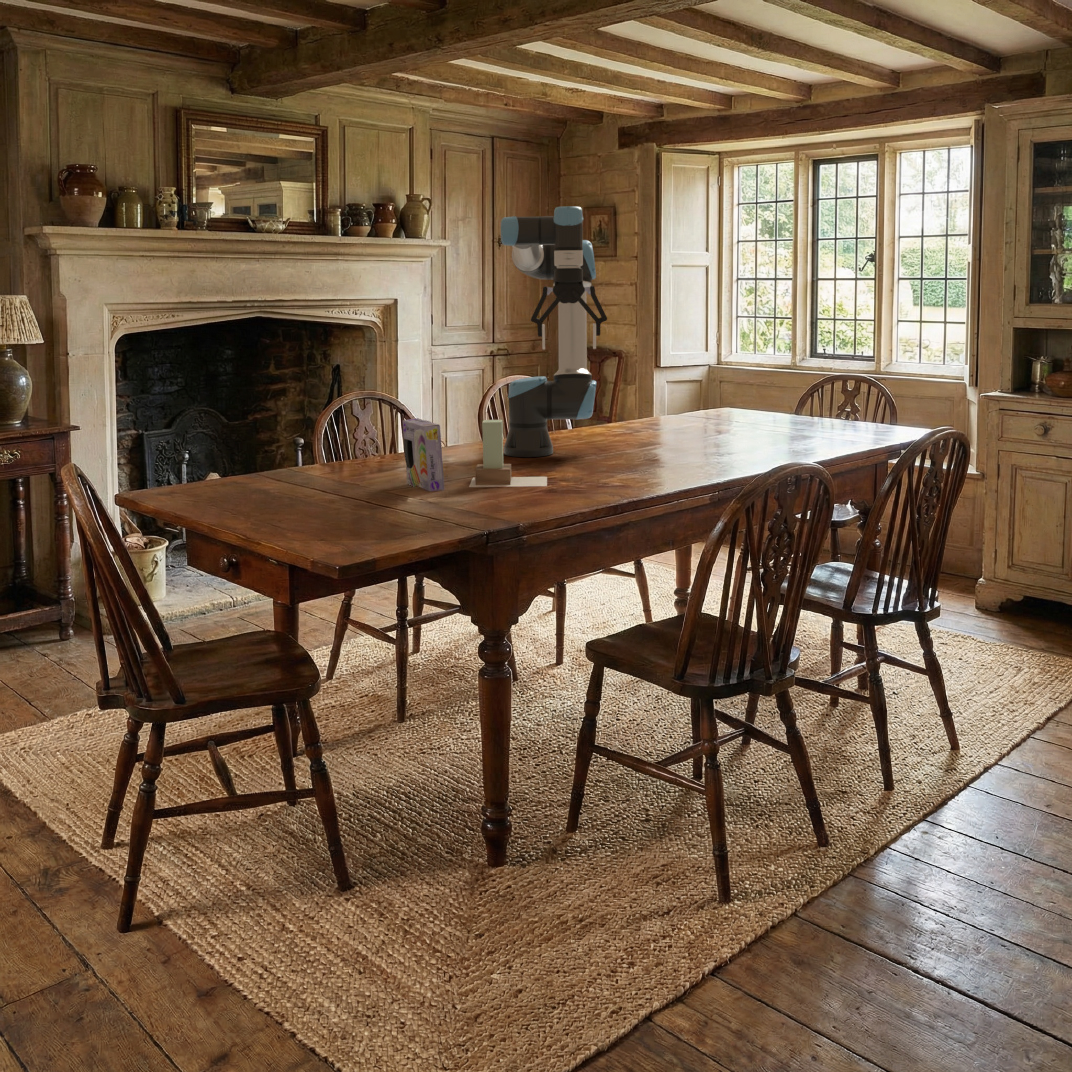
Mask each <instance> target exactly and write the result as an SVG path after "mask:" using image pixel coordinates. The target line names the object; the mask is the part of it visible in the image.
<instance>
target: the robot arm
mask: <svg viewBox="0 0 1072 1072" xmlns="http://www.w3.org/2000/svg"><path fill="white" fill-rule="evenodd" d="M583 225H584V216H583V208H582V207H581V206H569V205H568V206H556V207H555V209H554V210H553V215H551V216H549V215H547V216H546V215H545V216H544V215H543V216H516V215H514V216H513V215H512V216H506V217H505V216H504V217H503V218H501V221H500V241H501V242H500V243H501V244H502V245H503V246H508V247H509V246H510V247H512V250H511V259H512V263H513V265H514V266H515V268H516V269H517V270H518V271H519V272H521V273H523V274H525V275H526V276H528V277H531V278H534V279H537V280H552V281H553V282H552V284H553V285H552V286H553V287H549V286H543V288H542V294H541V297H540V299H539V301H538V302H537V305H536V308H535V309H534V311H533V314H532V316H531V318H530V322H531V323H535V324H536V325H537V335H538V337H541V340H542V345H541V347H542V350H546V324H545V323H543V322H544V321H545V320H546V319H547V318H548V316H549V315H550V314H551V312H553V310H554V309H555V308H556V307H557V306H558V310H557V311H558V316H557V317H558V322H557V323H558V370H557V371H556V372H555V373H554V374H553V380H549V381H548V378H547V376H546V375H545V376H543V375H542V376H531V377H526V378H525V377H524V378H520V379H515V380H513V381H510V383H509V385H508V396H507V398H508V423H509V424H508V432H507V436H506V439H505V442H504V444H503V455H505V456H509V457H515V458H516V457H517V458H533V457H534V458H535V457H536V458H537V457H546V456H551V455H552V454H554V447H553V442H552V439H551V437H550V434H549V431H548V430H549V429H548V420H587V419H590V418H591V417H592V416H593V413H594V405H595V397H596V390H597V381H596V380H594V379H593V375H592V373H591V372H590V371H589V370H588V361H587V360H588V358H587V357H588V356H587V355H588V349H587V348H588V347H587V345H588V343H587V341H588V340H587V339H588V337H587V336H588V335H587V333H588V327H587V325H588V322H587V317H588V316H587V315H589V316H590V318H592V319H593V321H594V322H595V323H592V349H593V350H597V337H598V336H599V337H600V335H601V324H602V323H604V322H607V320H608V317H607V314H606V313H605V310H604V309H603V306H602V304H601V303H600V301H599V299H598V297H597V295H596V288H595V285H592V280H596V279H597V270H596V263H595V262H596V261H595V254H594V249H593V244H592V242H591V241H589V240H587V239H584V238H583V235H584V228H583ZM552 292H553V294H554V295H555V297H556V298H554V300H553V301H552V303H551V304H550V305H549V306H548V308H547V309H546V310H545V311H544V312H543V314H542V315H541V317H539V318H538V316H539V314H540V311H541V309H542V308H543V305H544V303H545V301H546V299H547V296H549V295H550V294H551V293H552ZM587 294H588V295H590V296H591V300H592V301H593V303H594V306H595V307H596V309H597V311H598V313H599V315H600V317H598V315H597V314H596V313H595V312H594V311H593V310H592V308H591V307H590V306H589V305H588V304H587Z"/></svg>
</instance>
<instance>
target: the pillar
mask: <svg viewBox="0 0 1072 1072" xmlns="http://www.w3.org/2000/svg"><path fill="white" fill-rule="evenodd" d="M503 421H504V420H503V419H483V421H482V424H481V425H482V461H483V463H482V464H483V468H503V464H504V431H503V430H504V429H503V428H504V427H503V424H504V423H503Z"/></svg>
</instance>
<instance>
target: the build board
mask: <svg viewBox="0 0 1072 1072" xmlns="http://www.w3.org/2000/svg"><path fill="white" fill-rule="evenodd" d="M468 487H469V488H498V487H500V488H502V487H504V488H506V487H508V488H510V487H512V488H513V487H514V488H515V487H521V488H522V487H548V476H511V484H510V485H475V476H474V477H472V479H471V481H470V484H469V486H468Z"/></svg>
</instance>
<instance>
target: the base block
mask: <svg viewBox="0 0 1072 1072" xmlns="http://www.w3.org/2000/svg"><path fill="white" fill-rule="evenodd" d="M474 472H475V473H474V477H475V485H510V484H511V477H512V463H503V468H483V463H478V464H476V467H475V469H474Z"/></svg>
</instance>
